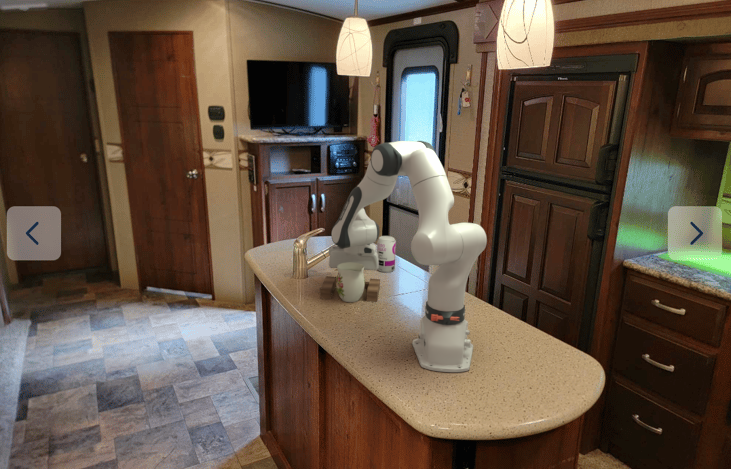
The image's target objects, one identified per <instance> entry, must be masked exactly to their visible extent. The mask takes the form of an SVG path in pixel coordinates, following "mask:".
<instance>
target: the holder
mask: <svg viewBox="0 0 731 469" xmlns="http://www.w3.org/2000/svg"><path fill="white" fill-rule="evenodd" d="M336 278H337V276H332V275H331V276H327V275H326V277H325V279H324V280H323V282H322V284H321V287H320V288H319V289H320V290H319V299H322V300H331V299H332V296H333V294H334V292H335V289H336V288H337V287H336ZM380 288H381V279H379V278H370V279H369V281H365V287H364V290H366V302H373V303H374V302H375V303H376V302H377V303H378V299H379V294H380V290H381V289H380Z"/></svg>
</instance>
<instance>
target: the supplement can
mask: <svg viewBox="0 0 731 469" xmlns="http://www.w3.org/2000/svg"><path fill="white" fill-rule="evenodd" d="M396 246H397V241H396V239H395V237H393V236H391V235H381V236H379V237H378V239H377V241H376V252H377V254H378V259H379V268H378V269H377V270H378V271H379V272H381V273H392V272H393V271H394V270H395V269H396V252H397V251H396Z"/></svg>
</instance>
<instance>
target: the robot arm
mask: <svg viewBox="0 0 731 469" xmlns="http://www.w3.org/2000/svg"><path fill="white" fill-rule="evenodd" d="M399 176H403V177H405V176H407V177H408V180H409V183H410V187H411V190H412V193H413V197H414V199H415V200H414V201H415V203H416V206H417V211H418V217H419V218H418V228H417V230H416V233H415V234H414V235H413V236H412V240H411V244H410V248H411V249H410V251H411V253H412V257H413V258H414V260H415V261H416V262H417V263H418V264H420V265H423V266H438V267H437V268H436V270H434V272H433V273H432V274H431V275H430V276H429V279H428V284H427V285H428V286H427V288H428V290H427V300H426V302H425V306H424V310H425V311H424V312H425V313H424V314H425V315H424V316H422V317H421V318H420V319H419V330H418V338H415V339H413V340H412V344H411V345H412V347H413V350H414V352H415V354H416V357H417V360H418V363H419V366H420V367H421V368H424V369H426V370H430V371H434V372H441V373H443V372H444V373H463V372H467V371H469V370H470V369H471V364H472V357H473V352H474V344H473V343H471V341H472V340H471V339H469V338H468V336H470V332H471V331H470V330H469V328H468V326H469V321H468V320H466V319H465V318H466V316H465V315H466V305H465V297H466V296H465V295H466V289H467V288H466V287H467V281H468V278H469V276H470V273H471V270H472V268H473V266H474V265H475V262H476V260H477V259H478V257H479V256H480V255H481V254H482V252H483V251H485V249H486V247H487V244H488V243H487V242H488V239H487V238H488V237H487V234H486V231H485V229H484V228H483V227H482V225H480V224H478V223H474V222H473V223H472V222H459V223H452V224H450V221H449V211H450V210H451V209H452V208H453V206H454V204H455V196H454V194H453V191H452V188H451V186H450V183H449V180H448V176H447V173H446V171H445V168H444V166H443V164H442V162H441V161H440V158H439V157H438V155H437V154H436V150H435V149H434V147H433V145H432V144H431V143H430V142H428V141H423V140H417V141H412V140H398V141H392V142H382V143H380V144H377V145H376V146H374V147H373V149H372V151H371V154H370V161H369V163H368V165H367V169H366V171H365V174H364V176H363V178H362V179H361V181H360V182H359V183H358V184H357V185H356V186H355V187H354V188H353V189H352V190H351V192H350V193H349V195H348V197H347V200H346V202H345V203H344V206H343V207H342V211H341V213H340V215H339V217H338V219H337V221H336V222H335V224H334V225H333V226H332V228H331V233H330V234H331V235H330V236H331V241H332V243H333V244H334V245H332V246H330V247H329V248H328V255H329V258H328V259H329V260H328V266H329V268H330V269H337V266H338V265H339V264H341V263H346V262H354V263H360V264H362V265H364V271H377V270H378V268H379V259H378V254H377V244H375V243H377V241H378V239H379V237H380V226H379V224H378V222H377V221H375V220H374V219H371V218H370V217H369V216H368V215H367V213H366V210H365V207H368V206H370V205H372V204H375V203H378V202H381V201H383V200H385V199H387V198H389V197H390V196H391V194H392V193H393V191H394V189H395V186H396V184H397V180H398V177H399Z"/></svg>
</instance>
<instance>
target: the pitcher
mask: <svg viewBox="0 0 731 469" xmlns="http://www.w3.org/2000/svg"><path fill="white" fill-rule="evenodd" d="M336 269H337V276H336V287H335V288H336V291H337V293H338V297H339V298H340V299H341V300H342V302H346V303H356V302H358V301H360V299H361V298H362V296H363V293H364V291H365V289H364V287H365V282H366V279H365V275H364V274H365V273H364V271H365V270H364V265H362V264H360V263H354V262H346V263H341V264H339V265H338V266H337V268H336Z"/></svg>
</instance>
